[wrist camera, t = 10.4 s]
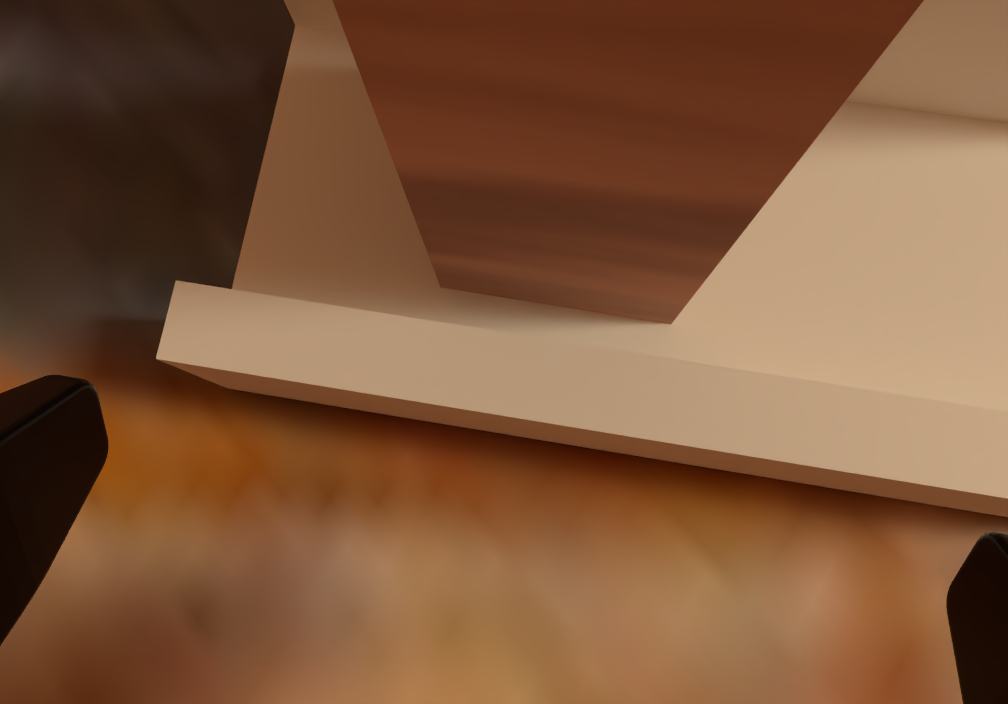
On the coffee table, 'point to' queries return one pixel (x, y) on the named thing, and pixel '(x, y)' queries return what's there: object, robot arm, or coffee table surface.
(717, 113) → the block
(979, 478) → the cleat board
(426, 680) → the coffee table surface
